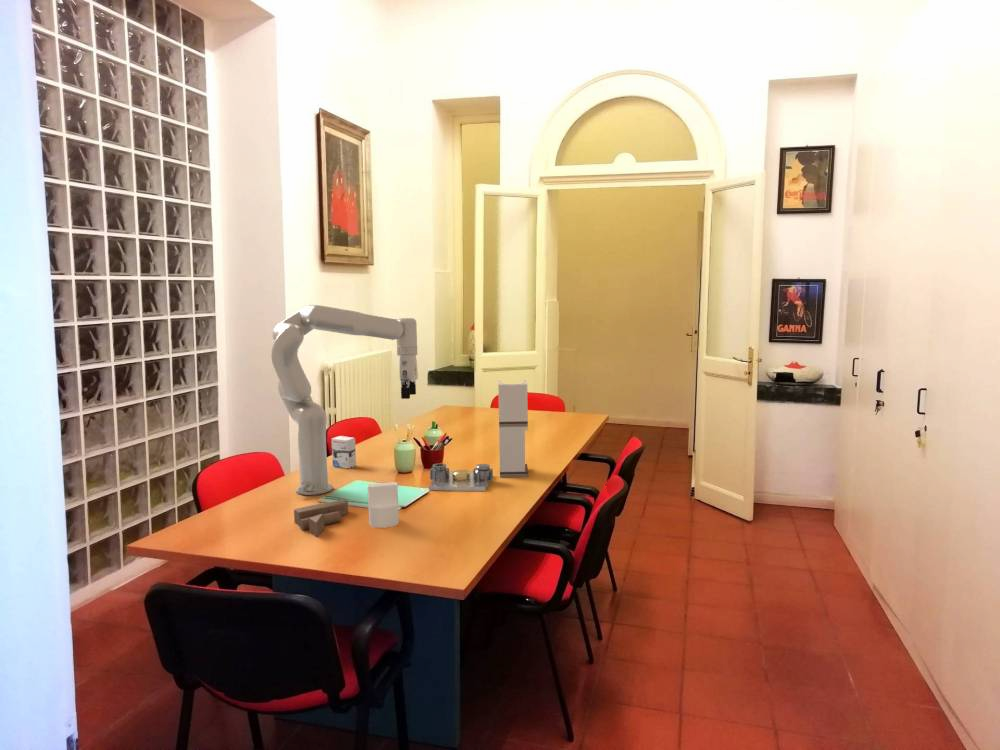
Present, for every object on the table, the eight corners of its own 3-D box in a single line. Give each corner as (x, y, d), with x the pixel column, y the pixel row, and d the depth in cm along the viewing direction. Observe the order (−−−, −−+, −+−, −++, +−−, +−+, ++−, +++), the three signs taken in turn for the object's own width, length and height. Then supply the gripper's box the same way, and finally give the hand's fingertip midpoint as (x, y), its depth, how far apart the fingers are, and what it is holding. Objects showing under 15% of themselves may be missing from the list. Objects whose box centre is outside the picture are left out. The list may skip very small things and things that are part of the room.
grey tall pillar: (528, 476, 260) (527, 384, 256) (499, 477, 260) (498, 384, 256) (526, 468, 272) (526, 380, 267) (499, 469, 272) (498, 380, 267)
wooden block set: (290, 506, 213) (344, 495, 224) (291, 524, 214) (345, 512, 225) (312, 520, 200) (369, 507, 211) (313, 539, 200) (369, 525, 211)
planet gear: (447, 481, 251) (446, 467, 250) (428, 480, 252) (428, 467, 251) (450, 476, 258) (450, 462, 257) (432, 475, 258) (431, 462, 258)
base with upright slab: (370, 529, 207) (368, 490, 205) (367, 519, 216) (366, 481, 214) (400, 525, 209) (399, 487, 208) (397, 516, 218) (395, 479, 216)
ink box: (332, 466, 280) (330, 438, 278) (340, 463, 284) (339, 435, 283) (348, 469, 276) (347, 440, 274) (356, 466, 280) (355, 437, 279)
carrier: (489, 491, 243) (489, 473, 242) (429, 490, 245) (428, 472, 244) (495, 475, 263) (495, 458, 262) (439, 474, 265) (439, 458, 264)
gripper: (411, 353, 251) (413, 400, 253) (422, 349, 268) (423, 392, 270) (391, 353, 252) (393, 400, 254) (402, 349, 269) (404, 392, 271)
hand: (408, 396), depth 262 cm, fingers open, 9 cm apart
